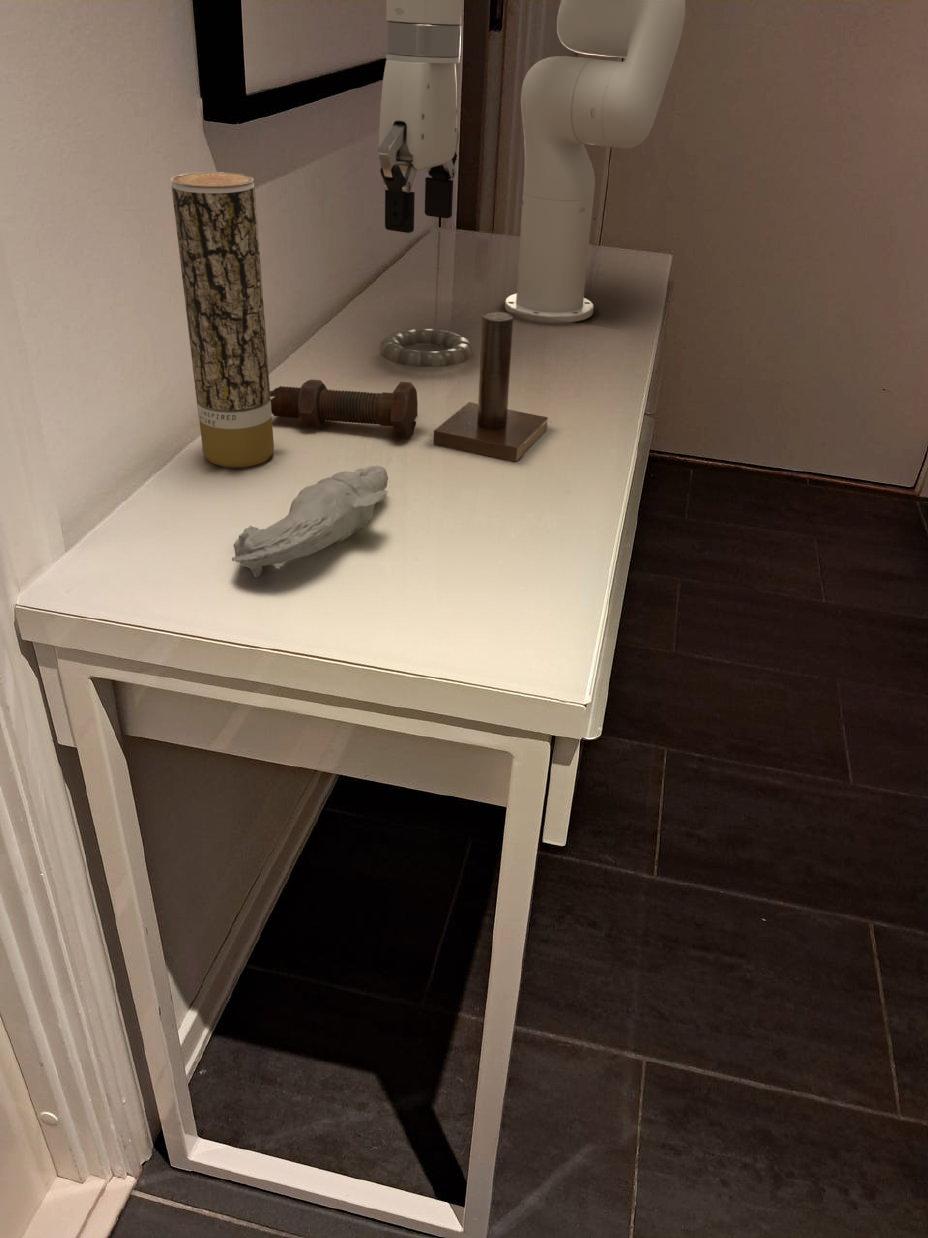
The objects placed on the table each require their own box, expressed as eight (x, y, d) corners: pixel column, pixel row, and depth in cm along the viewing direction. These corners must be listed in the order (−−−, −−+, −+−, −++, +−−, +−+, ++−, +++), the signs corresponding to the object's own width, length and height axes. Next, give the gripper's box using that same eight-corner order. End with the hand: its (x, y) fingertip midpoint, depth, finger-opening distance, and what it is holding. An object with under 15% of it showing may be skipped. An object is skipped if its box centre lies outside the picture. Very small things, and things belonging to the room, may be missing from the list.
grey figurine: (287, 465, 92) (200, 536, 75) (402, 435, 89) (340, 503, 72) (306, 516, 94) (225, 598, 76) (419, 489, 91) (363, 568, 73)
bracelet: (405, 341, 128) (405, 321, 126) (485, 355, 124) (486, 335, 123) (364, 367, 119) (363, 345, 118) (449, 383, 116) (449, 361, 114)
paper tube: (259, 474, 93) (235, 189, 80) (191, 465, 94) (156, 182, 81) (284, 446, 99) (266, 175, 85) (220, 438, 100) (192, 169, 86)
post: (468, 414, 108) (473, 298, 101) (546, 430, 105) (557, 311, 98) (433, 444, 101) (435, 321, 94) (516, 461, 98) (524, 336, 91)
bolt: (278, 432, 106) (414, 443, 104) (260, 425, 101) (404, 436, 99) (282, 377, 106) (420, 387, 103) (265, 367, 101) (409, 377, 98)
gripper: (426, 40, 108) (422, 207, 117) (348, 43, 95) (351, 232, 104) (490, 45, 106) (481, 215, 115) (419, 48, 92) (415, 241, 101)
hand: (419, 223), depth 109 cm, fingers open, 9 cm apart
